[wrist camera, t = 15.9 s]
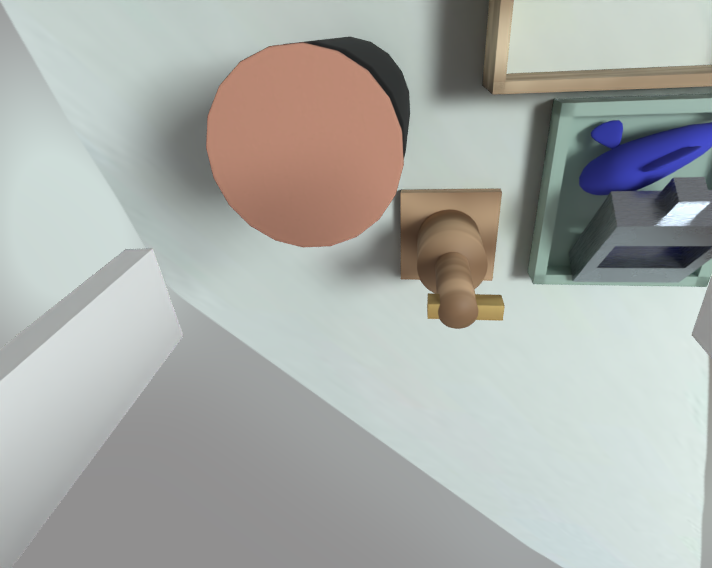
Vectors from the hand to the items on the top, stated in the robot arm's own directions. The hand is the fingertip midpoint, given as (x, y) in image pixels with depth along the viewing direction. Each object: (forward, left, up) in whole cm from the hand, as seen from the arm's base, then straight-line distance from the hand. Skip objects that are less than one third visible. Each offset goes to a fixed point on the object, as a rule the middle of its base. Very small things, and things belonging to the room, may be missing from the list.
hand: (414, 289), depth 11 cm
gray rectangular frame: (+10, +19, -28) cm, 35 cm away
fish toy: (+4, +20, -31) cm, 38 cm away
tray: (+8, +18, -32) cm, 38 cm away
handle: (+12, +3, -32) cm, 34 cm away
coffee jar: (0, -6, -32) cm, 33 cm away
